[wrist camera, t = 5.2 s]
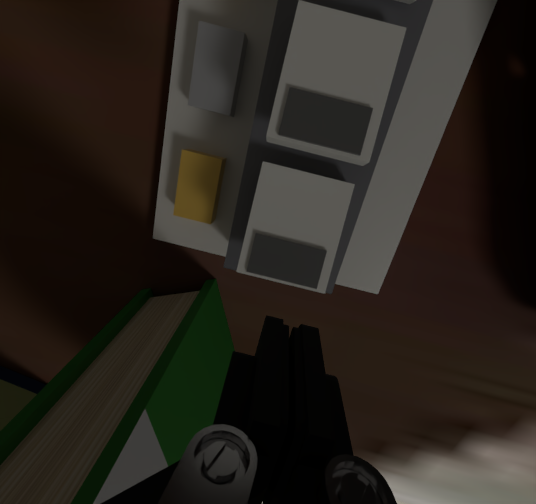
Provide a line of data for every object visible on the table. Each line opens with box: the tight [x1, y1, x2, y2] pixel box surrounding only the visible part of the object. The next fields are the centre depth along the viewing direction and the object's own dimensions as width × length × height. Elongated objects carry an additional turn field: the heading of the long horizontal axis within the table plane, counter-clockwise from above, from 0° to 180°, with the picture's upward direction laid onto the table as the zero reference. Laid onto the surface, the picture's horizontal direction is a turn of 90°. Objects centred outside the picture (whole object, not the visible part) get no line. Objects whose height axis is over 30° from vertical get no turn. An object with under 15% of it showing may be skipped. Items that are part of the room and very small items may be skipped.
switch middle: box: [266, 0, 406, 166], centre depth 17 cm, size 7×6×1 cm
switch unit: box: [153, 0, 497, 294], centre depth 21 cm, size 27×20×6 cm
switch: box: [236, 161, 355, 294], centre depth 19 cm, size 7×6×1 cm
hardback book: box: [0, 279, 235, 504], centre depth 21 cm, size 18×7×24 cm, turn 11°
